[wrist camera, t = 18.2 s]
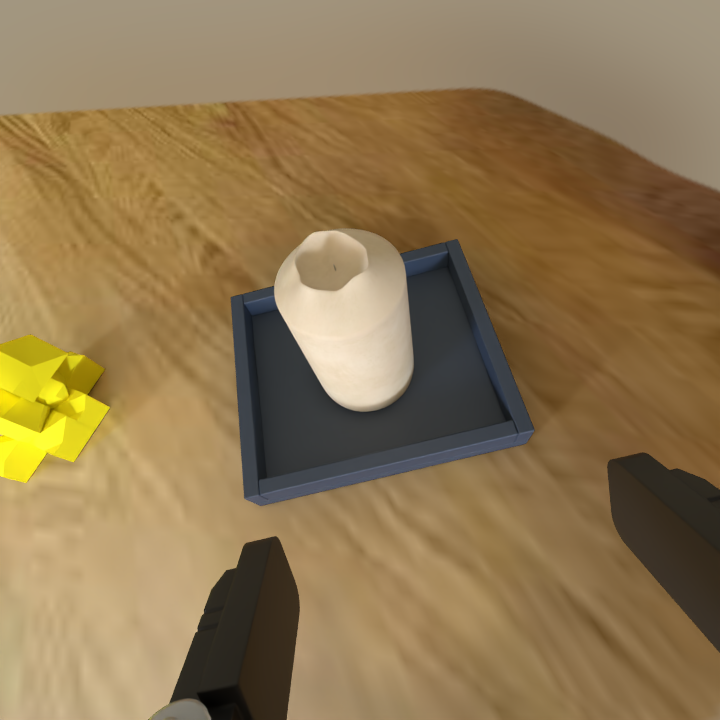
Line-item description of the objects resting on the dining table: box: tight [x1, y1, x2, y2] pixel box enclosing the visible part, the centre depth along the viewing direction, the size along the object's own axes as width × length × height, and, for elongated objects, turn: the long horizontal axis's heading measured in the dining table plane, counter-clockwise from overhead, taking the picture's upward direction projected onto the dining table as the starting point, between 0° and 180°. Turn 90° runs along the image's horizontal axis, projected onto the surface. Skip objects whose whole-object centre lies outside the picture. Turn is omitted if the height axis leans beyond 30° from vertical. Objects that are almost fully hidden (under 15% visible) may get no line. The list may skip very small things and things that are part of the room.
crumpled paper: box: [0, 334, 110, 483], centre depth 25 cm, size 6×8×8 cm
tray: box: [231, 239, 534, 506], centre depth 25 cm, size 15×13×2 cm
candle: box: [274, 228, 414, 412], centre depth 21 cm, size 6×6×10 cm
